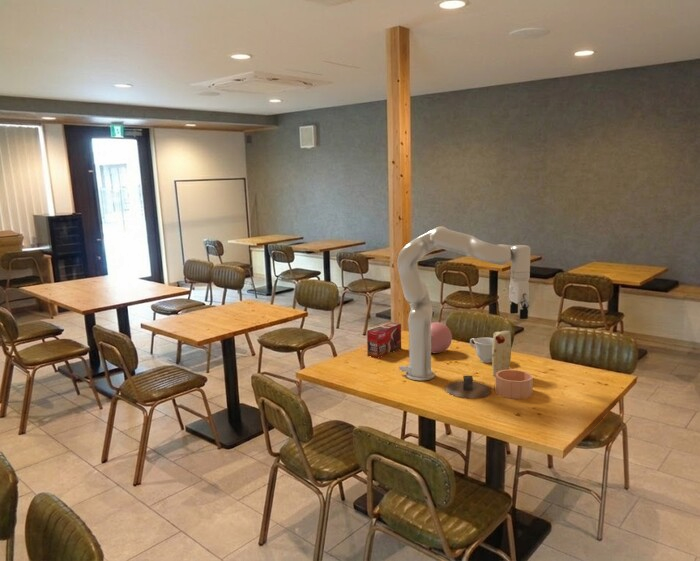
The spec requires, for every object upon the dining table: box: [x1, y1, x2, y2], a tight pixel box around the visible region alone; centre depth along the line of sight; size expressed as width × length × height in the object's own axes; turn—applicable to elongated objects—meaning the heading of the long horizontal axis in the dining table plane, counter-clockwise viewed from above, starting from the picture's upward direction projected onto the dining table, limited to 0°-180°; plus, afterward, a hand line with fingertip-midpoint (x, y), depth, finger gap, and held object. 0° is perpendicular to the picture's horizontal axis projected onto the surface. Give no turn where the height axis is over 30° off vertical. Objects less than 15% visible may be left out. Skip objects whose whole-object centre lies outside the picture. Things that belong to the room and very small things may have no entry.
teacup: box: [469, 336, 493, 364], centre depth 258 cm, size 12×15×10 cm
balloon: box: [431, 321, 453, 354], centre depth 271 cm, size 15×20×15 cm
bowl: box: [494, 369, 534, 400], centre depth 218 cm, size 14×14×7 cm
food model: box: [491, 330, 512, 377], centre depth 237 cm, size 10×7×20 cm
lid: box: [445, 375, 492, 400], centre depth 221 cm, size 18×18×6 cm
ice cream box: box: [366, 321, 402, 359], centre depth 274 cm, size 20×6×13 cm, turn 139°
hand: (518, 316), depth 226 cm, fingers open, 9 cm apart
